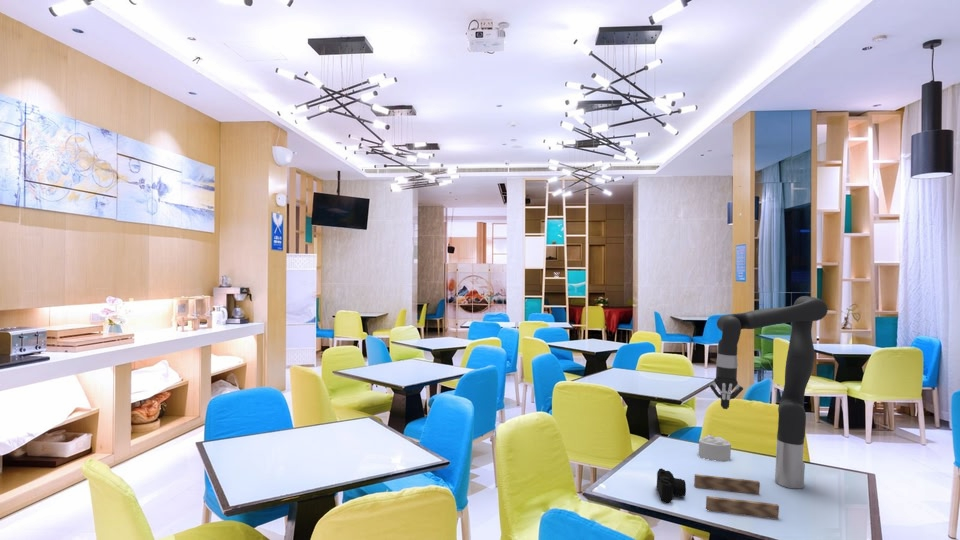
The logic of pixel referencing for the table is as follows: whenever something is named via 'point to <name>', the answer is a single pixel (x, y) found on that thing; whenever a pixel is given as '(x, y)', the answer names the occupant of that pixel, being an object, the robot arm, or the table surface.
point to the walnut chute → (733, 504)
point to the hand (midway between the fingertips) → (724, 408)
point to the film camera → (669, 486)
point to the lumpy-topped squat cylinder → (714, 448)
